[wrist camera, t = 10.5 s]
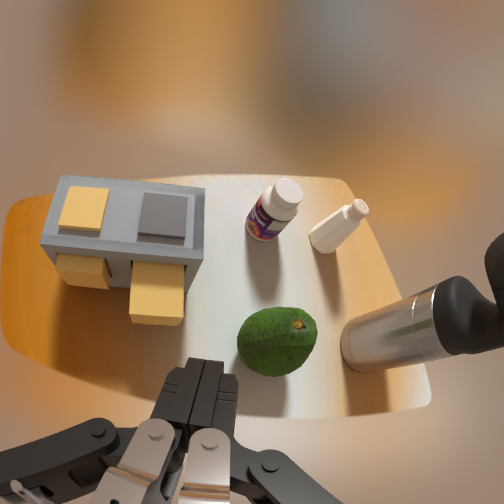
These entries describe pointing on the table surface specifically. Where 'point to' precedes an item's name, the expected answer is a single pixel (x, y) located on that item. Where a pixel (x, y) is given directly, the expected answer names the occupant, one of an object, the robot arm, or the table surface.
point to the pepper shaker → (338, 226)
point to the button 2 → (157, 293)
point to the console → (126, 224)
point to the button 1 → (83, 270)
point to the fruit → (276, 340)
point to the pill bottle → (274, 209)
